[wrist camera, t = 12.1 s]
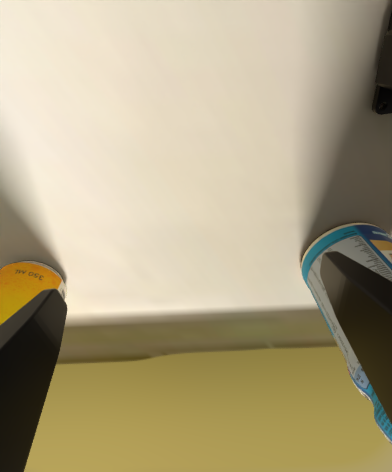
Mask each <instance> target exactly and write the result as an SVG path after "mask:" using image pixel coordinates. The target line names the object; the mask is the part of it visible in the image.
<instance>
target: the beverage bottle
mask: <svg viewBox="0 0 392 472" xmlns="http://www.w3.org/2000/svg"><path fill="white" fill-rule="evenodd" d="M329 251H338V252H340V253H342V254H344V255H345V256H347V257H349V258H351V259H353V260H355V261H356V262H358V263H360V264H362V265H364V266H365V267H367V268H369V269H371V270H373V271H374V272H376V273H378V274H380V275H382V276H383V277H385V278H387V279H389V280H391V281H392V237H391V236H390V235H389V234H388V233H387V232H386V231H384V230H383V229H381V228H380V227H378V226H375V225H372V224H367V223H351V224H346V225H342V226H339V227H336V228H334V229H332V230H329V231H328V232H326V233H324V234H323V235H321V236H320V237H319V238H317V239H316V240H315V241H314V242H313V243H312V244H311V245H310V246H309V248H308V249H307V251H306V252H305V254H304V256H303V259H302V263H301V272H302V276H303V279H304V281H305V283H306V284H307V286H308V288H309V289H310V291H311V293H312V295H313V297H314V299H315V301H316V303H317V305H318V307H319V309H320V311H321V313H322V315H323V317H324V319H325V321H326V323H327V325H328V327H329V329H330V331H331V333H332V335H333V337H334V339H335V341H336V343H337V345H338V347H339V349H340V351H341V353H342V355H343V357H344V359H345V361H346V363H347V367H348V371H349V374H350V377H351V378H352V380H353V382H354V384H355V386H356V387H357V389H358V390H359V391H360V393H361V394H362V395H363V396H365V397H366V398H367V399H368V400H369V401H371V402H372V404H373V405H374V418H375V421H376V424H377V426H378V427H379V429H380V430H381V432H382V433H383V434H384V436H385V437H386V438H387V440H388V441H389V442H390V443H391V444H392V424H391V423H390V421H389V419H388V417H387V415H386V413H385V411H384V409H383V407H382V405H381V403H380V401H379V400H378V398H377V396H376V394H375V392H374V390H373V388H372V386H371V384H370V382H369V380H368V378H367V376H366V375H365V373H364V371H363V369H362V367H361V365H360V363H359V361H358V359H357V357H356V355H355V353H354V351H353V350H352V348H351V346H350V344H349V342H348V340H347V338H346V336H345V334H344V332H343V330H342V328H341V327H340V325H339V322H338V320H337V318H336V316H335V314H334V311H333V308H332V306H331V303H330V301H329V298H328V295H327V293H326V290H325V287H324V285H323V282H322V279H321V276H320V267H321V260H322V255H323V253H325V252H329Z"/></svg>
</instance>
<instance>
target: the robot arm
mask: <svg viewBox="0 0 392 472" xmlns="http://www.w3.org/2000/svg"><path fill="white" fill-rule="evenodd" d="M376 83H377V86H376V91H375V95H374V100H373V105H372V110H373V112H374V113H376V114H381V115H382V114H388V113H392V13H391V18H390V23H389V28H388V32H387V34H386V35H385V38H384V43H383V48H382V52H381V57H380V62H379V67H378V72H377V77H376ZM382 103H384V106H383V107H382V108H381V109H379V107H380V105H381V104H382ZM320 276H321V279H322V282H323V285H324V287H325V290H326V293H327V295H328V298H329V301H330V303H331V306H332V308H333V311H334V314H335V316H336V318H337V320H338V322H339V325H340V327H341V328H342V330H343V332H344V334H345V336H346V338H347V340H348V342H349V344H350V346H351V348H352V350H353V351H354V353H355V355H356V357H357V359H358V361H359V363H360V365H361V367H362V369H363V371H364V373H365V375H366V376H367V378H368V380H369V382H370V384H371V386H372V388H373V390H374V392H375V394H376V396H377V398H378V400H379V401H380V403H381V405H382V407H383V409H384V411H385V413H386V415H387V417H388V419H389V421H390V423H391V424H392V281H391V280H389V279H387V278H385V277H383V276H382V275H380V274H378V273H376V272H374V271H373V270H371V269H369V268H367V267H365V266H364V265H362V264H360V263H358V262H356V261H355V260H353V259H351V258H349V257H347V256H345V255H344V254H342V253H340V252H338V251H329V252H325V253H323V255H322V260H321V267H320ZM66 314H67V305H66V302H65V301H64V299H63V298H62V296H61V294H60V293H59V291H58V290H57V289H55V288H52V289H45V290H42V291H41V292H40V293H39V294H37V295H36V296H35V297H34V298H33V299H31V300H30V301H29V302H28V303H27V304H25V305H24V306H23V307H22V308H20V309H19V310H18V311H17V312H16V313H14V314H13V315H12V316H11V317H9V318H8V319H7V320H6V321H5V322H3V323H2V324H1V325H0V472H24V469H25V466H26V462H27V459H28V456H29V452H30V449H31V446H32V442H33V439H34V436H35V432H36V429H37V425H38V422H39V419H40V416H41V412H42V409H43V406H44V402H45V399H46V395H47V392H48V389H49V386H50V382H51V379H52V375H53V372H54V368H55V365H56V362H57V359H58V355H59V351H60V347H61V341H62V336H63V331H64V325H65V320H66Z"/></svg>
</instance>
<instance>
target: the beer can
mask: <svg viewBox="0 0 392 472" xmlns="http://www.w3.org/2000/svg"><path fill="white" fill-rule="evenodd" d="M52 288H55V289H57V290H58V291H59V293H60V294H61V296H62V298H63V299H64V301H65V298H66V296H67V289H66V286H65V284H64V282H63V279H62V277H61V276H60V274H59V273H58V272H57V271H56V270H54V269H53V268H51V267H50V266H48V265H46V264H43V263H40V262H35V261H21V262H17V263H12V264H9V265H6V266H4V267H3V268H2V269H1V270H0V325H1V324H2V323H3V322H5V321H6V320H7V319H8V318H9V317H11V316H12V315H13V314H14V313H16V312H17V311H18V310H19V309H20V308H22V307H23V306H24V305H25V304H27V303H28V302H29V301H30V300H31V299H33V298H34V297H35V296H36V295H37V294H39V293H40V292H41V291H42V290H45V289H52Z"/></svg>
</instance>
